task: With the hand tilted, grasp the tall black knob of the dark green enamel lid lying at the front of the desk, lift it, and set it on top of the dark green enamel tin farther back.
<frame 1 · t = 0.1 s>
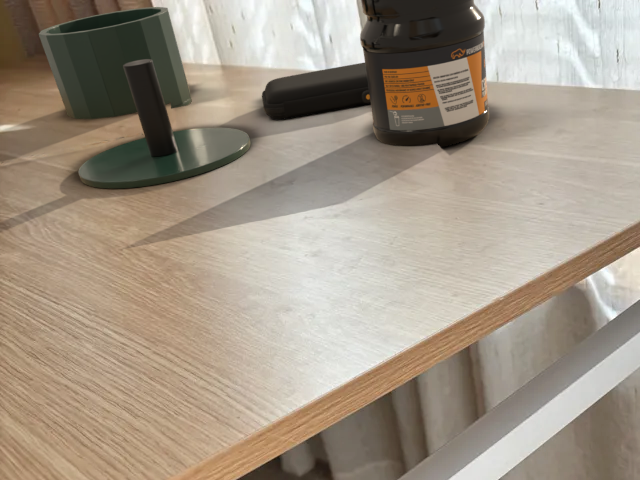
lid: (166, 159, 77), point 1 cm above the table
supplement container: (432, 137, 74), on the table
carrying case: (334, 109, 87), on the table
tin: (132, 111, 99), on the table
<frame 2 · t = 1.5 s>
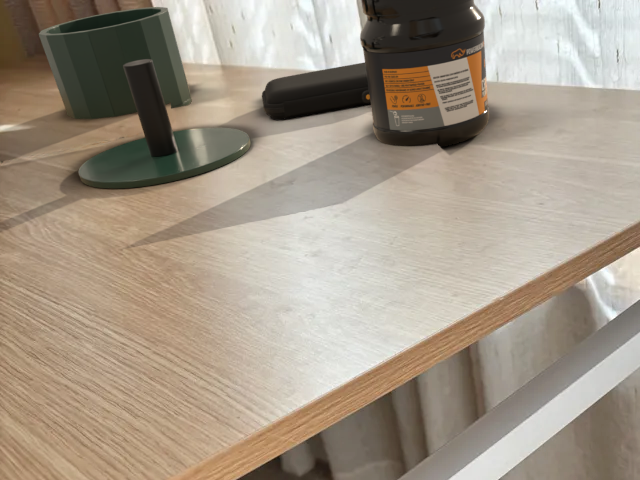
nothing on the table moved.
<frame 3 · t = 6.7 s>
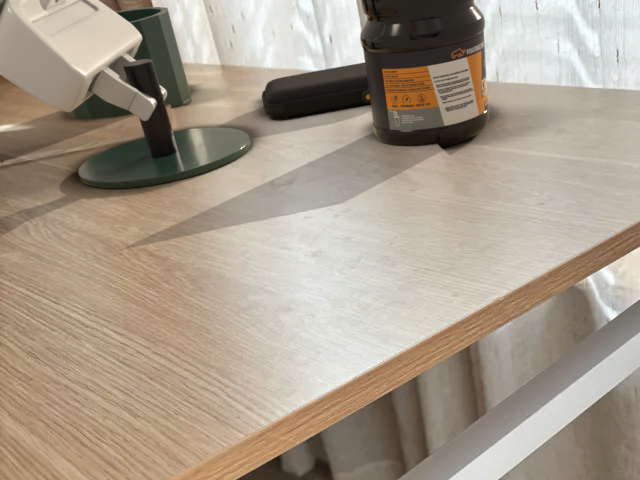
hand: (158, 107, 74), 5 cm above the table, tool tilted 45°, fingers closed on lid, 2 cm apart
lid: (166, 159, 77), point 1 cm above the table, touching gripper
everything else where it was.
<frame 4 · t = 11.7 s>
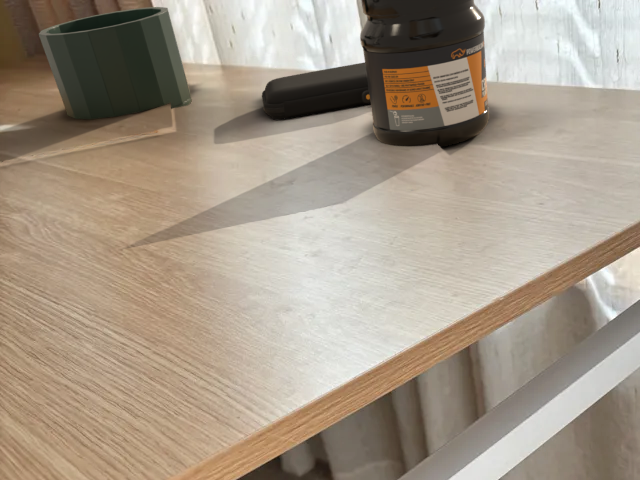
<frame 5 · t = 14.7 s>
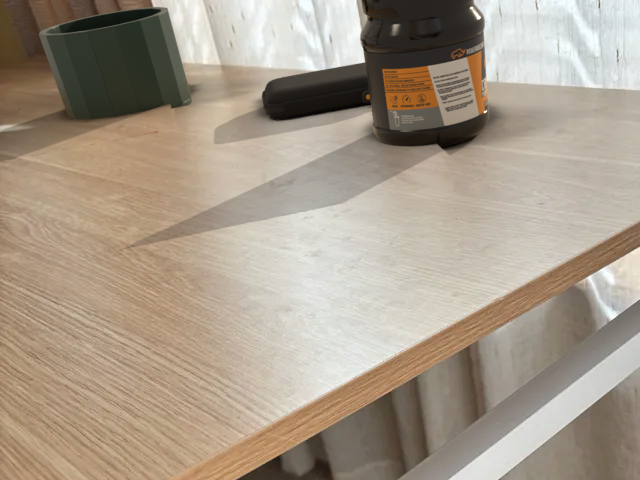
when the fingers open (14 cm above the table, at t = 16.8 s): lid stays where it is, resting on tin.
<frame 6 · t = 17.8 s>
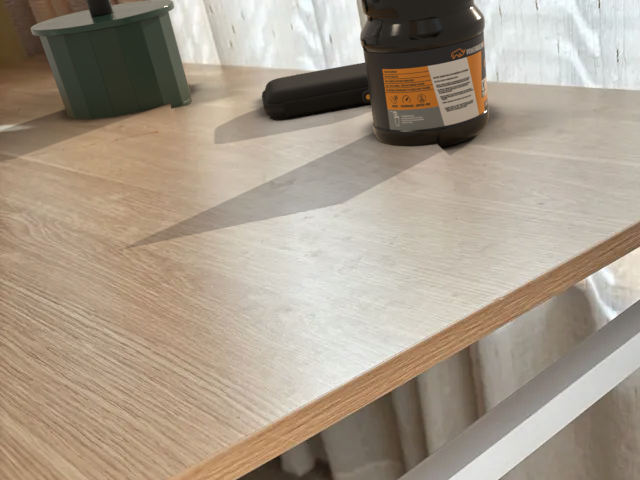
lid: (104, 20, 93), point 9 cm above the table, touching tin
everything else where it was.
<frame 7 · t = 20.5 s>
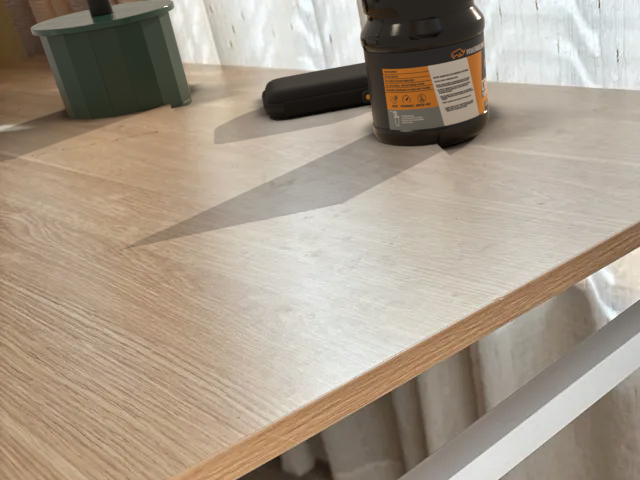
nothing on the table moved.
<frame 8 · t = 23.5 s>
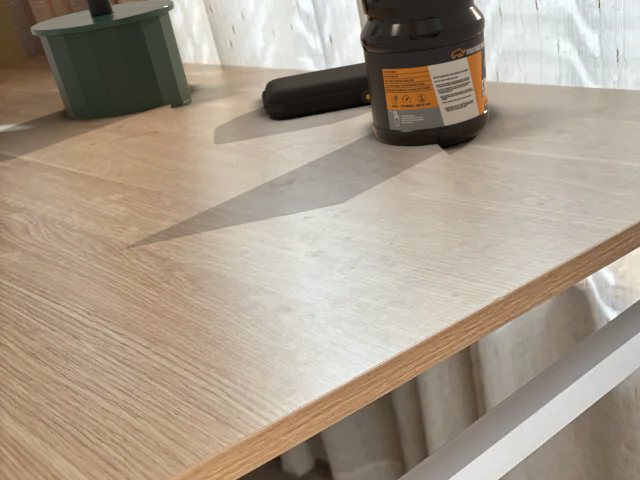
nothing on the table moved.
at the end: lid 0.3 cm off-centre on the tin, point 9.5 cm above the tin's base; lid tilted 0° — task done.
